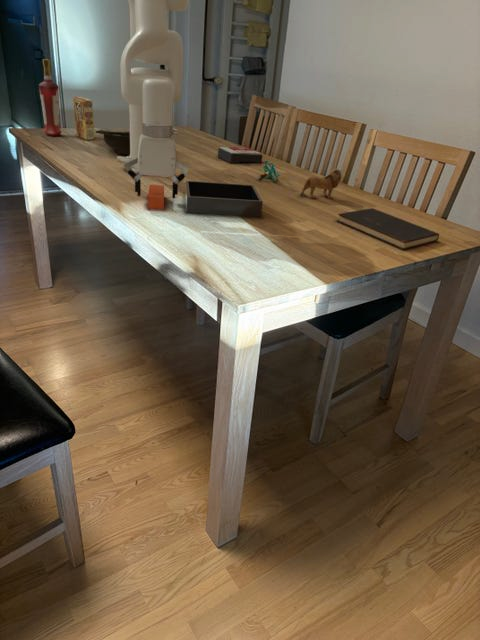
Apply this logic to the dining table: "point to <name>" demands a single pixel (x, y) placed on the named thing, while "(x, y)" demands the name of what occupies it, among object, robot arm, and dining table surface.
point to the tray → (222, 199)
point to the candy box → (84, 118)
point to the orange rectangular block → (156, 197)
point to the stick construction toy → (269, 172)
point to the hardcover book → (388, 228)
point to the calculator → (239, 155)
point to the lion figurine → (323, 183)
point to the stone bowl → (117, 140)
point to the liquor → (50, 102)
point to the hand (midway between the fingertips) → (156, 195)
